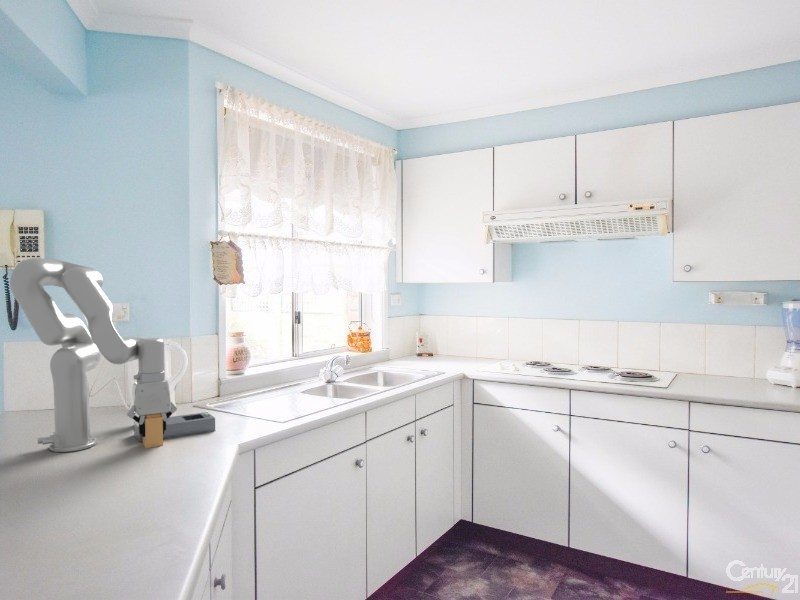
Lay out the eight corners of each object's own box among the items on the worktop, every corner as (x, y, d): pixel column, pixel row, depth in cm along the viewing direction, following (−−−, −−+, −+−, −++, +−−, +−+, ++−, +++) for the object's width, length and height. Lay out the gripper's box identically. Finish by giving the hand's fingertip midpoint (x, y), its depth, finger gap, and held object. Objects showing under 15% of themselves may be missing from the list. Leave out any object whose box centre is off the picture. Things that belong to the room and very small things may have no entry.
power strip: (139, 442, 179) (138, 409, 179) (133, 435, 187) (133, 404, 187) (215, 430, 193) (214, 400, 192) (207, 424, 201) (206, 395, 201)
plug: (145, 448, 173) (145, 416, 173) (142, 444, 177) (142, 412, 177) (163, 445, 176) (162, 413, 176) (159, 441, 180) (159, 410, 180)
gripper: (123, 382, 168) (125, 441, 169) (183, 376, 178) (183, 433, 178) (120, 378, 174) (121, 436, 175) (177, 373, 184) (178, 427, 185)
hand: (152, 433), depth 177 cm, fingers closed on plug, 5 cm apart
